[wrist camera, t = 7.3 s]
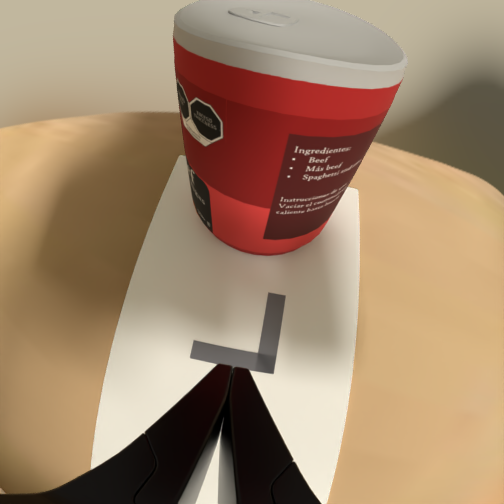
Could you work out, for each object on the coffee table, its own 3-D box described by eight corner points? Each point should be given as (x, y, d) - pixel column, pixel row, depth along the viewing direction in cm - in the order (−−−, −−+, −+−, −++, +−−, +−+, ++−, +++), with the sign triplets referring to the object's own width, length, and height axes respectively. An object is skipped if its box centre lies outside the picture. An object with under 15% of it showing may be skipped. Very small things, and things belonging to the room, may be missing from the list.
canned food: (216, 143, 19) (218, -13, 9) (331, 172, 18) (392, 25, 8) (172, 238, 15) (119, 43, 5) (316, 277, 15) (435, 108, 5)
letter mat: (316, 529, 9) (317, 532, 9) (91, 486, 9) (89, 488, 9) (356, 192, 18) (358, 189, 18) (180, 157, 18) (179, 154, 18)
